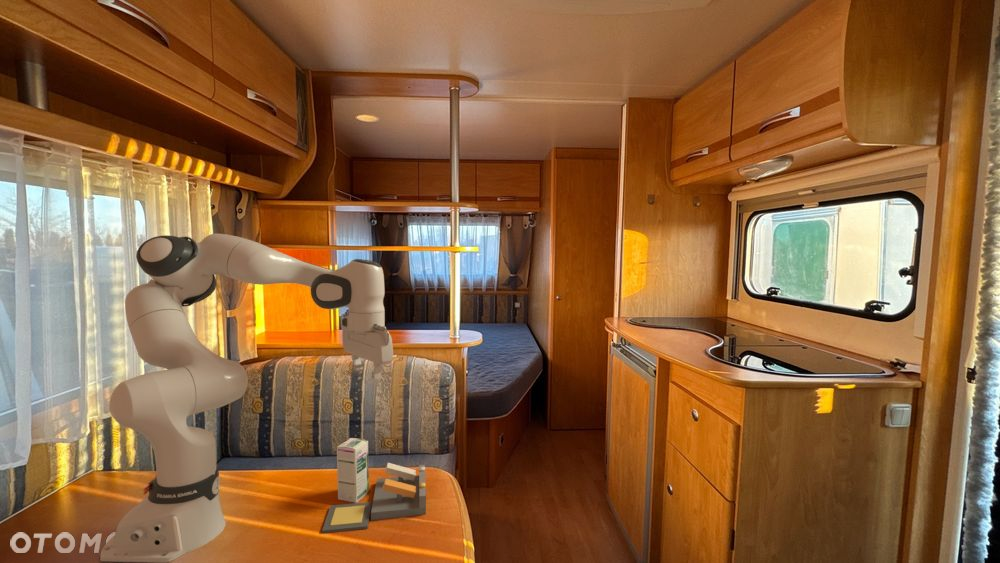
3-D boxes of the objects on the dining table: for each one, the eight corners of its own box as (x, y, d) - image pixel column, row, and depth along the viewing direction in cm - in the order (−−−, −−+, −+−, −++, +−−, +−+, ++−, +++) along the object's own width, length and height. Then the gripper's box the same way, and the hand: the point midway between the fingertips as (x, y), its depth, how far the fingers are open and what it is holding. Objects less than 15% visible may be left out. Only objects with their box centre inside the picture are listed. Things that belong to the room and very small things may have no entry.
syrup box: (356, 504, 111) (356, 448, 110) (336, 500, 113) (336, 445, 112) (369, 492, 117) (369, 439, 116) (350, 488, 118) (350, 436, 117)
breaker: (385, 473, 116) (387, 467, 116) (385, 468, 119) (387, 462, 119) (413, 480, 118) (415, 475, 118) (413, 475, 120) (415, 470, 120)
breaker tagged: (382, 490, 108) (384, 484, 108) (383, 484, 110) (385, 478, 110) (413, 498, 109) (415, 492, 109) (413, 492, 112) (415, 486, 112)
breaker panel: (371, 520, 104) (370, 498, 104) (377, 485, 120) (377, 466, 120) (425, 515, 107) (426, 493, 107) (424, 481, 123) (424, 462, 122)
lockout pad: (322, 533, 100) (322, 529, 100) (330, 507, 109) (330, 505, 109) (367, 528, 101) (367, 525, 101) (371, 504, 111) (371, 501, 111)
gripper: (399, 326, 108) (399, 380, 109) (359, 316, 122) (359, 365, 123) (376, 328, 103) (376, 386, 104) (337, 318, 118) (338, 369, 118)
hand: (367, 374), depth 114 cm, fingers open, 8 cm apart
